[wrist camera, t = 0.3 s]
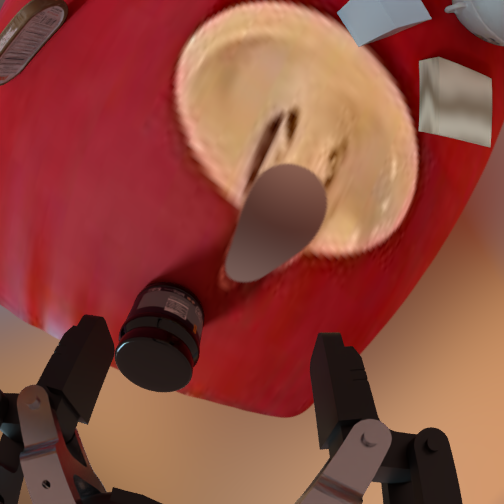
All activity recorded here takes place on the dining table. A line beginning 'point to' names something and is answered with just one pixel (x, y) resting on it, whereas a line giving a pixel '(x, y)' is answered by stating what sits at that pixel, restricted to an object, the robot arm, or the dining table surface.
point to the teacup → (481, 18)
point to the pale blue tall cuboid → (381, 18)
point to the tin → (28, 34)
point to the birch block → (455, 101)
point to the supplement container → (161, 338)
